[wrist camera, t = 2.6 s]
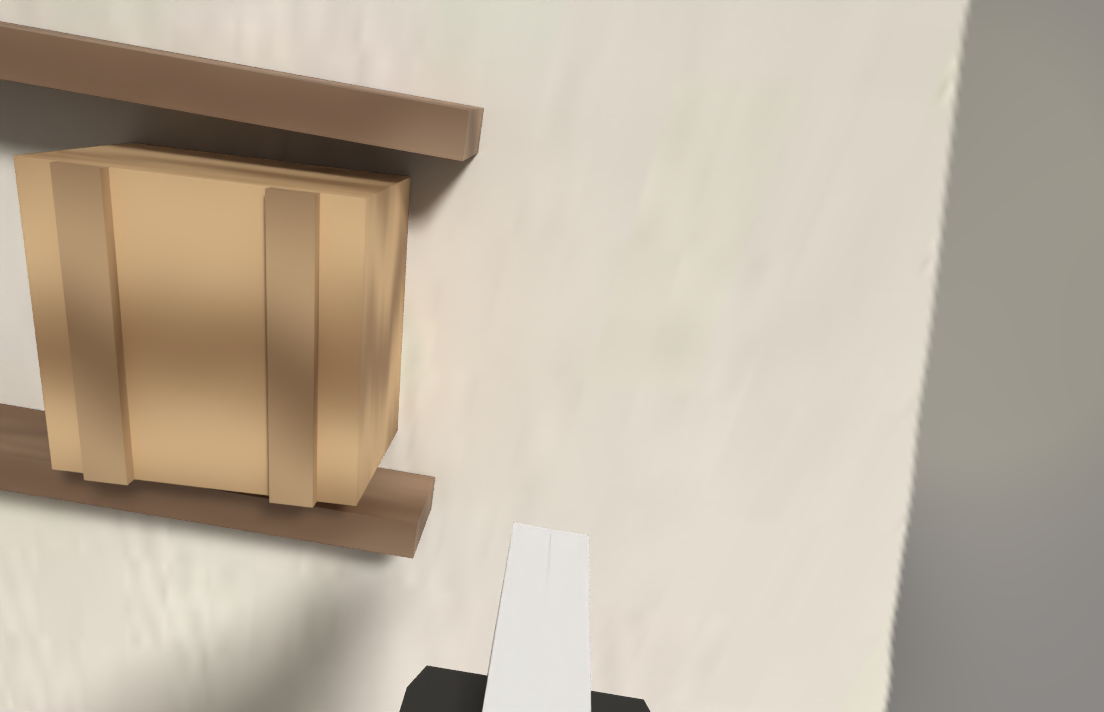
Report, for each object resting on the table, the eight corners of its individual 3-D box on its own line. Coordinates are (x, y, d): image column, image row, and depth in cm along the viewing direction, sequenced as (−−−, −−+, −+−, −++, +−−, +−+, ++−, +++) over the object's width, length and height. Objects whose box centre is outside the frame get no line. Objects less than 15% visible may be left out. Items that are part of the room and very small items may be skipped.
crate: (134, 142, 27) (2, 156, 21) (411, 176, 27) (361, 200, 21) (152, 398, 30) (43, 475, 24) (398, 428, 30) (352, 512, 24)
